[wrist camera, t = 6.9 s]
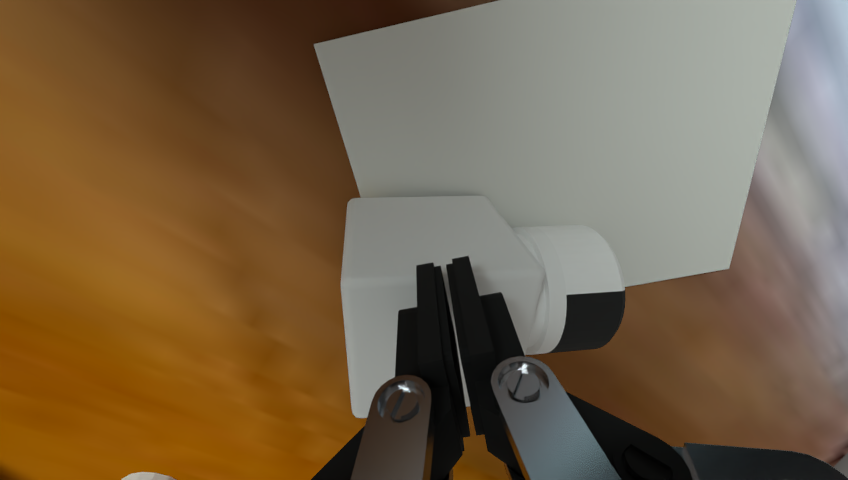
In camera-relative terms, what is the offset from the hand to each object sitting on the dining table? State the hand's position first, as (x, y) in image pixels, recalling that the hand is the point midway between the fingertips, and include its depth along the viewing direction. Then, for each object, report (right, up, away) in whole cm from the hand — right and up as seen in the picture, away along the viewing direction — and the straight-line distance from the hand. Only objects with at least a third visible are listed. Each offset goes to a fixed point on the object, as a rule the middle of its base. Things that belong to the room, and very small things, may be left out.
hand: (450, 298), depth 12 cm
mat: (+6, +5, +7) cm, 11 cm away
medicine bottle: (-4, -1, +5) cm, 6 cm away
